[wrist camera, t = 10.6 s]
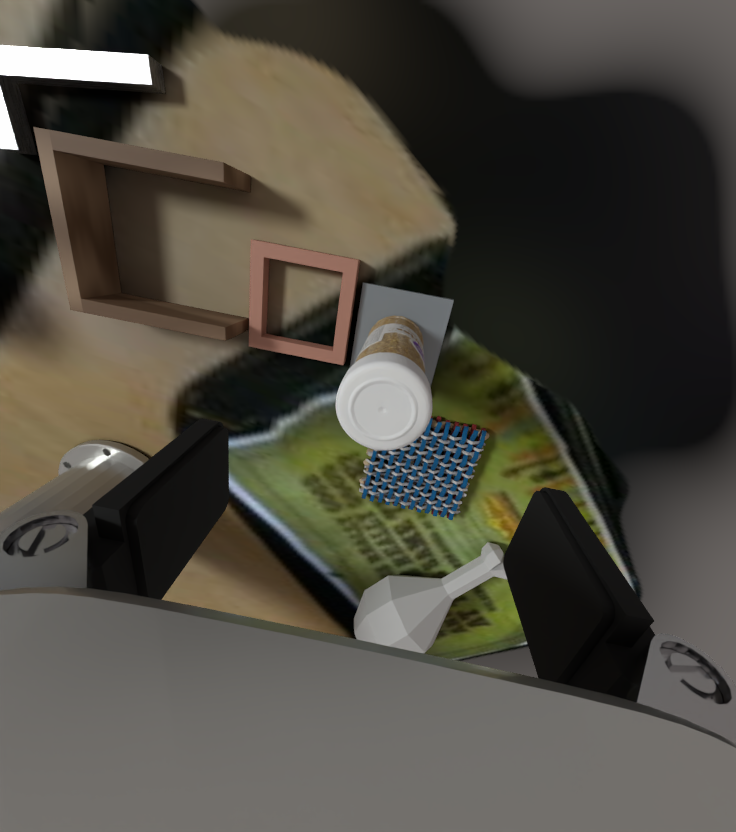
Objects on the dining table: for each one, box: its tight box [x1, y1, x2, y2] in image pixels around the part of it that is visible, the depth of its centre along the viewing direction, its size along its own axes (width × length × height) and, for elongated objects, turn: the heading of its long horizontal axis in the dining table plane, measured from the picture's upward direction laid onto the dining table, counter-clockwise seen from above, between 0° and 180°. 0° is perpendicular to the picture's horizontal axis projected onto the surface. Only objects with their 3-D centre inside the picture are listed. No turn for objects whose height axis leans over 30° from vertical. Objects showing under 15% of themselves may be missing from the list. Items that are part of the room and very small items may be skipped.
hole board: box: [249, 240, 361, 365], centre depth 27 cm, size 8×8×1 cm
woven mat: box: [359, 416, 489, 520], centre depth 33 cm, size 10×11×2 cm
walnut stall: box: [33, 127, 251, 341], centre depth 25 cm, size 11×12×4 cm
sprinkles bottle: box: [336, 316, 432, 451], centre depth 22 cm, size 5×5×13 cm
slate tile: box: [350, 282, 454, 387], centre depth 28 cm, size 8×7×1 cm
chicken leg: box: [354, 542, 507, 653], centre depth 36 cm, size 8×18×8 cm, turn 125°
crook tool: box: [0, 46, 166, 155], centre depth 23 cm, size 12×5×1 cm, turn 85°
